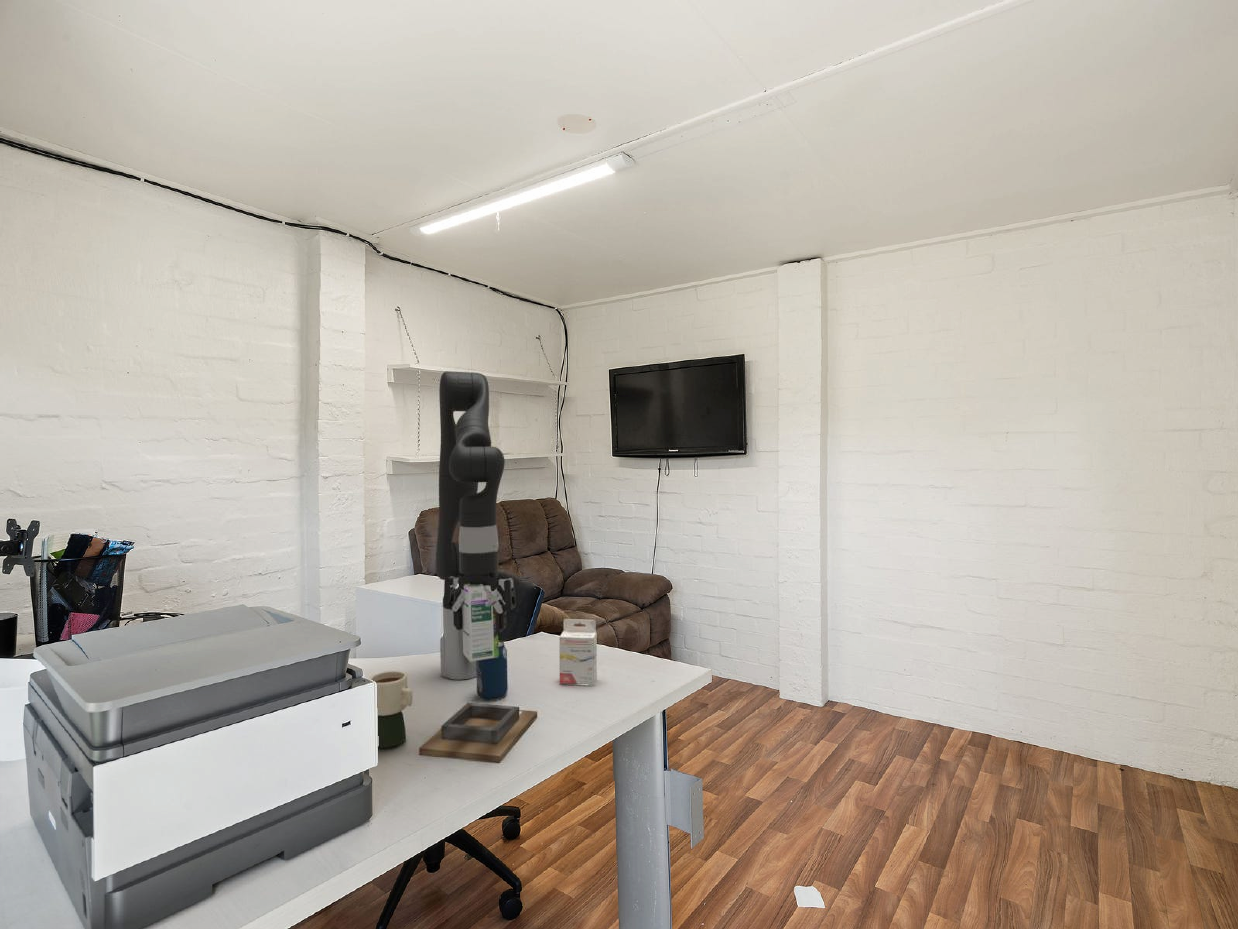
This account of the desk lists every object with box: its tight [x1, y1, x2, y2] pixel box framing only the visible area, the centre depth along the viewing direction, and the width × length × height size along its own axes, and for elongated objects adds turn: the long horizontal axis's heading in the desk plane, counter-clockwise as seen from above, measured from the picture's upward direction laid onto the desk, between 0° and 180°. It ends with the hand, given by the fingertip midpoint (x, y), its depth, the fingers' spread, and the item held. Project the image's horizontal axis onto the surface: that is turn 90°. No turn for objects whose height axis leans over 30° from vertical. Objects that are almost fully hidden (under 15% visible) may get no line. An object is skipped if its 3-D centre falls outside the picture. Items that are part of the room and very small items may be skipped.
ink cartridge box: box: [559, 618, 598, 686], centre depth 157 cm, size 9×5×15 cm, turn 84°
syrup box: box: [461, 584, 499, 662], centre depth 129 cm, size 6×6×14 cm
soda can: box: [475, 639, 509, 702], centre depth 149 cm, size 7×7×12 cm
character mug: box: [368, 670, 413, 748], centre depth 126 cm, size 11×7×13 cm, turn 70°
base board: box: [418, 702, 538, 763], centre depth 129 cm, size 16×20×4 cm
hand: (480, 630), depth 129 cm, fingers closed on syrup box, 8 cm apart
